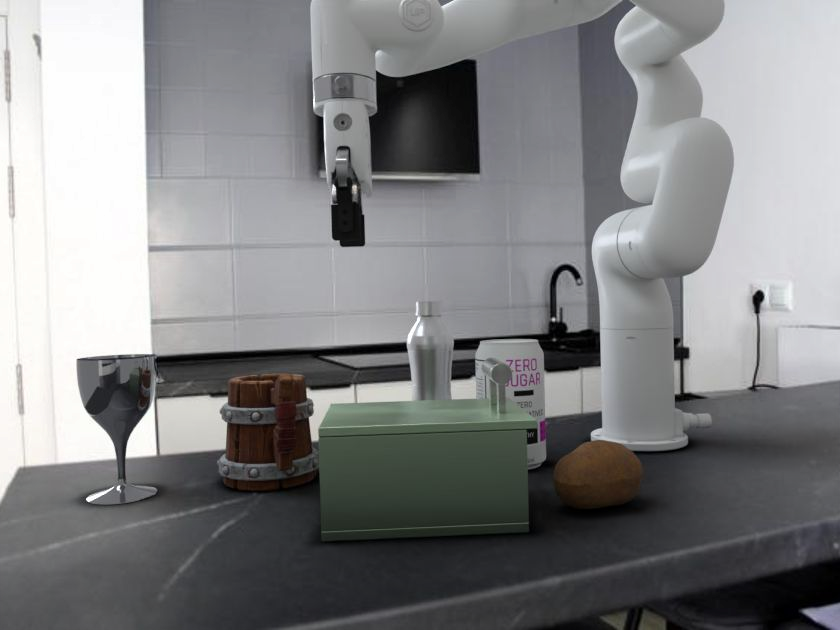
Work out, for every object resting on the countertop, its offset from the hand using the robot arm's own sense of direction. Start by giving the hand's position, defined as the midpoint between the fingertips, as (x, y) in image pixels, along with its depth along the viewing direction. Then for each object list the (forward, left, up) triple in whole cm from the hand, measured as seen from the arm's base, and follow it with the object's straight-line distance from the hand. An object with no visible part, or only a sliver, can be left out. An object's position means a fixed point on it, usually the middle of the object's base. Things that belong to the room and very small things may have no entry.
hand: (349, 243), depth 84 cm
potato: (-24, +18, -28) cm, 41 cm away
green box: (-7, +18, -27) cm, 33 cm away
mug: (+9, +4, -27) cm, 29 cm away
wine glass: (+25, +7, -27) cm, 38 cm away
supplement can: (-19, 0, -27) cm, 33 cm away
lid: (-7, +18, -18) cm, 27 cm away
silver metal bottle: (-10, -9, -27) cm, 31 cm away
